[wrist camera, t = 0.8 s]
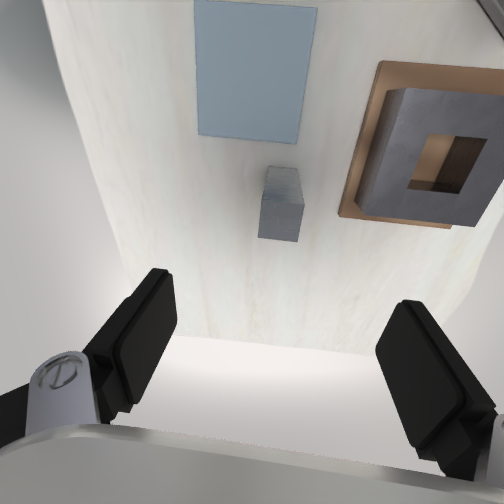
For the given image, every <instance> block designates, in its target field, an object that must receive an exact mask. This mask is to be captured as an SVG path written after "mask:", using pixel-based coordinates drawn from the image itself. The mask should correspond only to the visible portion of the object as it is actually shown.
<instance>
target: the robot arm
mask: <svg viewBox="0 0 504 504" xmlns="http://www.w3.org/2000/svg"><path fill="white" fill-rule="evenodd" d="M176 325H177V312H176V303H175V294H174V285H173V276H172V274H170V273H169V272H168V270H166V269H158V268H153V269H152V270H151V271H150V272H149V273H148V275H147V276H146V277H145V278H144V280H143V281H142V282H141V283H140V285H139V286H138V287H137V288H136V290H135V291H134V292H133V293H132V295H131V296H129V297H127V298H126V299H125V300H124V301H123V302H122V303H121V304H120V305H119V307H118V308H117V309H116V310H115V312H114V313H113V314H112V315H111V316H110V318H109V319H108V320H107V321H106V323H105V324H104V325H103V326H102V327H101V329H100V330H99V331H98V332H97V334H96V335H95V336H94V337H93V339H92V340H91V341H90V342H89V343H88V345H87V346H86V347H85V349H83V351H82V352H78V351H68V352H64V353H60V354H58V355H56V356H54V357H51V358H50V359H49V360H47V361H45V362H44V363H43V364H42V365H40V366H39V367H38V368H37V369H36V371H35V372H34V374H33V375H32V377H31V380H30V383H28V384H26V385H23V386H21V387H19V388H17V389H14V390H12V391H10V392H8V393H5V394H3V395H1V396H0V504H504V414H500V415H498V414H497V412H496V411H495V410H494V408H495V407H496V405H495V403H494V402H493V400H492V399H491V398H490V396H489V395H488V394H487V392H486V391H485V389H484V388H483V387H482V385H481V384H480V382H479V381H478V380H477V378H476V377H475V375H474V374H473V373H472V371H471V370H470V368H469V367H468V366H467V364H466V363H465V361H464V360H463V359H462V357H461V356H460V355H459V353H458V352H457V350H456V349H455V347H454V346H453V345H452V343H451V342H450V341H449V339H448V338H447V336H446V335H445V334H444V332H443V331H442V329H441V328H440V326H439V325H438V324H437V322H436V321H435V319H434V318H433V317H432V315H431V314H430V312H429V311H428V310H427V308H426V307H425V306H424V304H423V303H422V302H420V301H413V300H403V301H402V302H401V303H398V304H397V305H396V307H395V309H394V311H393V313H392V315H391V317H390V319H389V321H388V323H387V325H386V327H385V329H384V331H383V333H382V335H381V337H380V339H379V341H378V343H377V345H376V349H375V352H376V356H377V359H378V361H379V364H380V367H381V369H382V372H383V375H384V377H385V380H386V383H387V385H388V388H389V390H390V393H391V395H392V398H393V401H394V404H395V406H396V409H397V412H398V414H399V417H400V419H401V422H402V425H403V427H404V430H405V433H406V435H407V438H408V441H409V443H410V444H411V446H412V447H415V449H416V452H417V454H418V457H419V459H423V460H429V461H437V463H438V465H439V467H440V469H441V471H440V474H439V475H433V474H428V473H422V472H417V471H411V470H405V469H399V468H393V467H387V466H380V465H375V464H369V463H363V462H357V461H351V460H345V459H338V458H332V457H326V456H320V455H314V454H307V453H301V452H295V451H288V450H282V449H276V448H270V447H264V446H257V445H251V444H245V443H238V442H232V441H226V440H219V439H213V438H206V437H200V436H193V435H187V434H180V433H174V432H167V431H160V430H152V429H145V428H138V427H130V426H121V425H113V423H112V420H113V419H115V417H116V415H117V413H118V411H119V412H125V413H130V411H131V409H132V407H133V405H134V404H138V403H139V402H140V400H141V398H142V396H143V394H144V391H145V389H146V387H147V385H148V383H149V381H150V379H151V377H152V375H153V373H154V371H155V369H156V367H157V365H158V363H159V360H160V358H161V356H162V354H163V352H164V350H165V348H166V346H167V344H168V342H169V340H170V338H171V336H172V334H173V332H174V330H175V327H176Z"/></svg>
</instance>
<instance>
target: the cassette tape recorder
mask: <svg viewBox="0 0 504 504" xmlns="http://www.w3.org/2000/svg"><path fill="white" fill-rule="evenodd" d="M479 2H480V3H481V5H482V6H483V7H484V9H485V10H486V12H487V13H488V15H489V16H490V18H491V19H492V21H493V22H494V24H495V25H496V26H497V28H498V29H499V31H500V32H501V34H502V35H503V37H504V0H479Z"/></svg>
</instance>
